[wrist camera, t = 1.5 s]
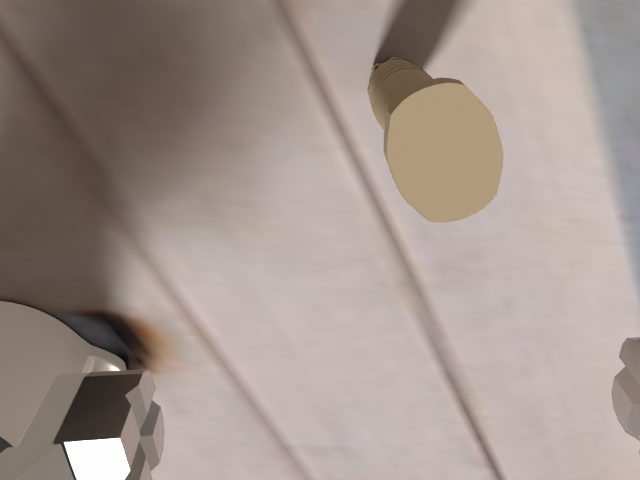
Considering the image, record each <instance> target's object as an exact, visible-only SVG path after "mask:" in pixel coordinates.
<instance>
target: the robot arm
mask: <svg viewBox="0 0 640 480" xmlns="http://www.w3.org/2000/svg"><path fill="white" fill-rule="evenodd" d="M619 357H620V359H621V360H622V362H623V363H624V365H625V366H626V367H624V368H623V369H622V370H621V371H620V372H619V373H618V374H617V375H616V376H615V377H614V382H613V388H612V399H613V407H614V410H615V413H616V416H617V418H618V421H619V422H620V424H621V425H622V427H623V429H624V430H625V432H626V433H628V434H630V435H631V436H633V437H635V438H636V439H638V440H639V441H640V337H635V338H627V339H626V340H625V342H624V343H623V344H622V347H621V351H620V355H619ZM155 388H156V387H155V384H154V380H153V377H152V374H151V372H149V371H148V370H127V371H126V365H125V363H124V361H123V360H122V359H121V358H119V357H118V356H116V355H114V354H112V353H110V352H108V351H105V350H103V349H100V348H98V347H95V346H92V345H91V344H89V343H87V342H86V341H85V340H83V339H82V338H81V337H80V336H79V335H77V334H76V333H75V332H74V331H73V330H71V329H70V328H69V327H68V326H66V325H65V324H63V323H62V322H60V321H59V320H57V319H55V318H54V317H52V316H50V315H48V314H46V313H44V312H41V311H39V310H37V309H34V308H31V307H28V306H24V305H21V304H16V303H11V302H4V301H0V480H152V476H151V472H150V471H151V470H153V469H154V468H155V467H156V466H157V465H158V464H159V463H160V459H161V455H162V451H163V443H164V422H163V415H162V411H161V407H160V406H159V405H157V404H156V403H155V402H154V401H152V398H153V395H154V391H155ZM639 454H640V451H639Z"/></svg>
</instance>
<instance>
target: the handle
mask: <svg viewBox="0 0 640 480" xmlns="http://www.w3.org/2000/svg"><path fill="white" fill-rule="evenodd" d="M368 94H369V99H370V103H371V106H372V110H373V112H374V114H375V117H376V119H377V121H378V123H379V124H380V126H381V127H382V128H383V130H384V154H385V157H386V160H387V163H388V166H389V168H390V171H391V174H392V176H393V179H394V181H395V184H396V186H397V188H398V190H399V192H400V194H401V195H402V197H403V198H404V199H405V200H406V201H407V203H408V204H409V205H411V206H412V207H413V208H414V209H415V210H416V211H417V212H418V213H420V214H421V215H422V216H423V217H424V218H426V219H427V220H428V221H432V222H444V223H445V222H451V221H456V220H460V219H463V218H466V217H468V216H470V215H472V214H475V213H476V212H478V211H480V210H481V209H483V208H484V207H485V206H487V205H488V204H489V203H490V202H491V201H492V200H493V198H494V197H495V196H496V195H497V191H498V186H499V182H500V177H501V172H502V167H503V151H502V145H501V141H500V137H499V134H498V130H497V126H496V123H495V121H494V119H493V116H492V114H491V113H490V111H489V110H488V109H487V107H486V106H485V105H484V104H483V103H482V102H481V101H480V100H479V99H478V98H477V97H476V96H475V95H474V94H473V93H472V92H471V91H470V90H469V89H468V88H467V87H466V86H465V85H464V84H463V83H462V82H461V81H459V80H455V79H450V78H436V79H432V77H431V76H430V75H428V74H427V73H426V72H425V71H424V70H423V69H421V68H420V67H418V66H417V65H415V64H413V63H411V62H408V61H404V60H402V59H401V58H399V57H391V58H390V59H389V60H388V61H386V62H384V63H380V64H378V63H376V64H375V65H374V66H373V68H372V77H371V79H370V83H369V86H368Z"/></svg>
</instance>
